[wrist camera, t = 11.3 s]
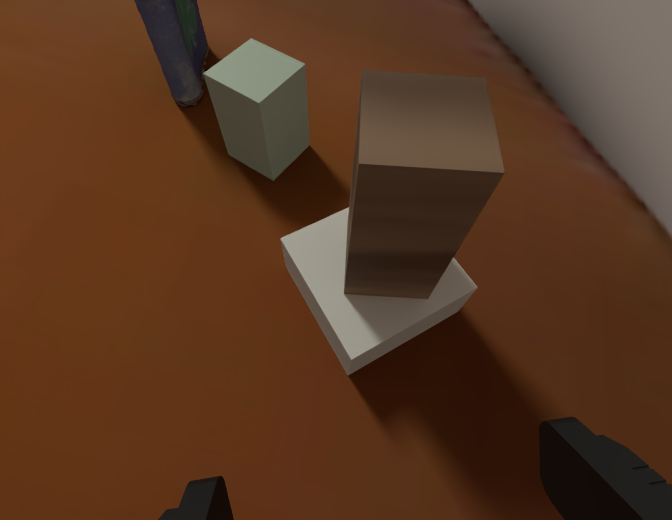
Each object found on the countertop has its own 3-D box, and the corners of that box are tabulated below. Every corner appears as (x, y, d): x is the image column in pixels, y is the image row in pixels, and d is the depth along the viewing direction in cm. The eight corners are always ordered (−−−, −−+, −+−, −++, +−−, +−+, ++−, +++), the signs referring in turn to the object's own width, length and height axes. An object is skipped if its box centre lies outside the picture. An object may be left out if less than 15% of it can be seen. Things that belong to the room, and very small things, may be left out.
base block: (347, 377, 23) (351, 359, 19) (286, 270, 26) (280, 238, 22) (456, 313, 25) (477, 287, 21) (386, 221, 28) (395, 185, 24)
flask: (202, 107, 33) (151, -41, 23) (166, 108, 32) (100, -41, 23) (212, 40, 37) (172, -107, 28) (180, 41, 37) (130, -107, 27)
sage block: (273, 181, 29) (259, 103, 23) (228, 154, 30) (203, 73, 24) (309, 145, 31) (305, 64, 25) (265, 121, 32) (251, 38, 26)
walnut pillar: (427, 299, 21) (504, 172, 12) (343, 293, 21) (359, 163, 12) (423, 228, 23) (485, 77, 14) (347, 223, 23) (362, 69, 14)
